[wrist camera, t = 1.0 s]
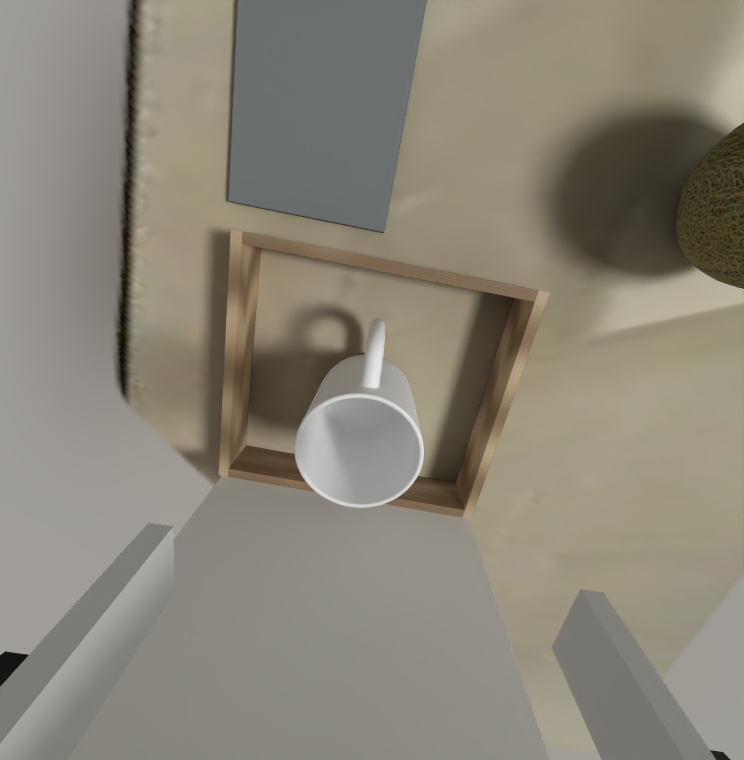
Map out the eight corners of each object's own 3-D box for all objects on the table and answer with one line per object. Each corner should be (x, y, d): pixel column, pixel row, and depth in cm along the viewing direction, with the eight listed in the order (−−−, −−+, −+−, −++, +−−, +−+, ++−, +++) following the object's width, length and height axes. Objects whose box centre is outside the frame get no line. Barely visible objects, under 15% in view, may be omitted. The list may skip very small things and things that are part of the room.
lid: (240, 451, 34) (-58, 845, 11) (458, 490, 34) (608, 934, 12) (238, 478, 35) (-38, 889, 12) (450, 515, 35) (574, 969, 13)
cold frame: (251, 233, 27) (230, 229, 23) (527, 288, 28) (549, 292, 24) (237, 451, 34) (218, 475, 30) (461, 491, 34) (471, 519, 31)
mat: (245, -79, 21) (241, -88, 21) (433, -36, 22) (434, -44, 21) (231, 202, 26) (228, 200, 26) (383, 232, 27) (383, 232, 26)
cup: (316, 429, 33) (289, 498, 23) (330, 302, 29) (304, 322, 19) (402, 442, 33) (410, 516, 23) (427, 318, 29) (450, 345, 19)
